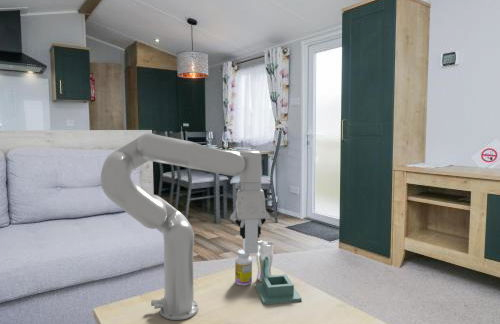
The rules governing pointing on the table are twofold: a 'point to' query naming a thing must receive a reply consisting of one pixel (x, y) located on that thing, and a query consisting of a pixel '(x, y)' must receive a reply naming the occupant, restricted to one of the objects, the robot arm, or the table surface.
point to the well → (277, 290)
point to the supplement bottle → (243, 268)
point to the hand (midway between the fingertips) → (250, 236)
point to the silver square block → (251, 236)
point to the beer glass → (264, 259)
